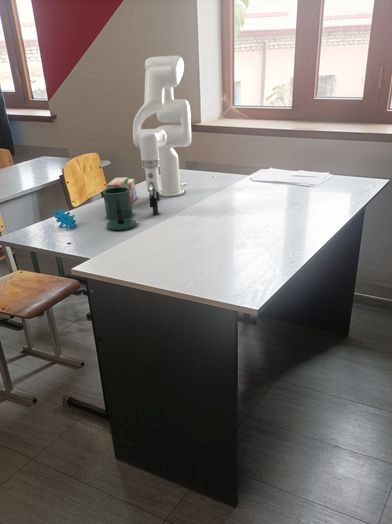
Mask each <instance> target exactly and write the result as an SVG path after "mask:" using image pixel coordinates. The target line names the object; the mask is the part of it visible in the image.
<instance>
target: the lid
mask: <svg viewBox="0 0 392 524" xmlns="http://www.w3.org/2000/svg"><path fill="white" fill-rule="evenodd" d="M116 214H117V219H115V220H109V221H108V222H107V223H105V225H106V228H107V230H112V231H123V230H124V231H125V230H129V229H131V228H134V227H135V226H137V221H136V220H135V219H133V218H124V216H123V211H122V210H118V211H116Z"/></svg>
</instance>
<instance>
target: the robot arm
mask: <svg viewBox="0 0 392 524" xmlns="http://www.w3.org/2000/svg"><path fill="white" fill-rule="evenodd" d="M144 69H145V73H144V96H143V98H144V99H143V100H144V101H143V104H142V106H141V107H140V108H139V110H138V111H137V112H136V114H135V116H134V119H133V123H132V142H133V144H134V146H135V148H138V149H140V151H139V152H140V159H141V167H142V169H143V170H144V172H145V180H146V189H147V192H148V196H149V197H148V201H149V207H150V208H153V207H157V202H159V201H160V196H161V197H169V198H170V197H178V196H181V195H183V194H185V190H184V187H187V186H188V182H187V181H184V182H181V176H180V175H181V174H180V161H179V155H178V153H177V151H176V150H175V148H182V147H184V148H185V147H190V146H191V144H192V138H193V137H192V115H191V113H192V112H191V106H190V103H189V101H188V100H187V99H185V98H184V99H183V98H178V99H177V98H176V99H175V98H174V88H177V87H178V86H179V84H180V82H181V81H182V77H183V74H184V72H185V71H184V70H185V63H184V59H183V58H182V56H180V55H160V56H159V55H157V56H151V57H148V58H146V60H145V61H144ZM154 114H156V118H157V121H159V122H161V123H179V124H174V125H173V124H171V125H169V124H168V125H167V124H166V125H159V126H158V127H157V128H142V126H143V123H144V122H145V121H146V120H147V119H148V118H150V117H151V116H153V115H154ZM156 191H157V197H156Z"/></svg>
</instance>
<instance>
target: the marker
mask: <svg viewBox="0 0 392 524" xmlns="http://www.w3.org/2000/svg"><path fill="white" fill-rule="evenodd" d="M156 197H157V191H156ZM158 202H159V201H157V207H152V214H153V216H157V215H159V213H160V212H159V204H158Z"/></svg>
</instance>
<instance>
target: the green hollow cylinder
mask: <svg viewBox="0 0 392 524" xmlns="http://www.w3.org/2000/svg"><path fill="white" fill-rule="evenodd" d="M102 195H103V201H104V208H105V215H106V218H107V220H109V221H112V220H115V219H117V214H116V211H118V210H122V211H123V216H124V218H130V219H132V218H133V217H134V213H133V212H134V211H133V205H132V203H131V197H130V189H129V188H127V187H114V188H109V189H108V188H106V189H104V190H103V191H102Z"/></svg>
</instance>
